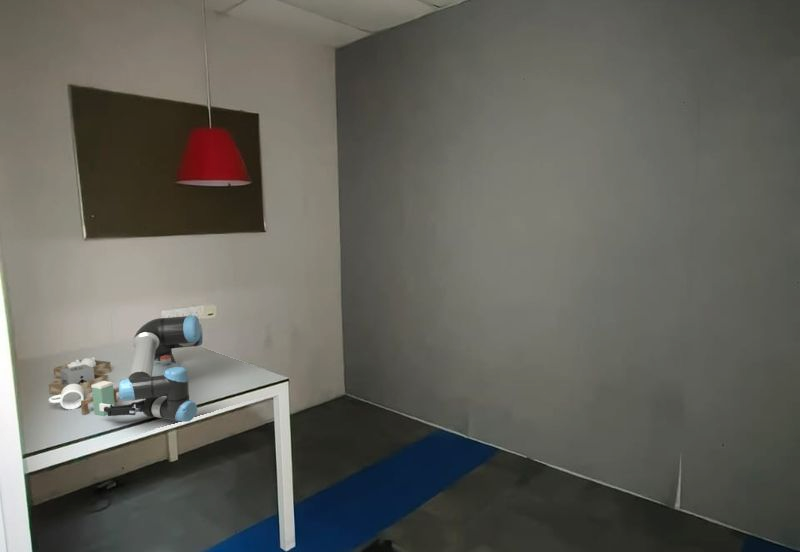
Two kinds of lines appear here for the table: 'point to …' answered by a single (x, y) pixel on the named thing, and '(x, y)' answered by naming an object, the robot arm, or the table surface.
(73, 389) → the mug
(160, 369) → the end cabinet
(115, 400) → the handrail
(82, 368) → the icon cube
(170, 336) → the robot arm
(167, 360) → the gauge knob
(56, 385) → the corral
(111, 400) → the green rectangular block
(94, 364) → the cat figurine
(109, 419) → the table surface
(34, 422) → the table surface
